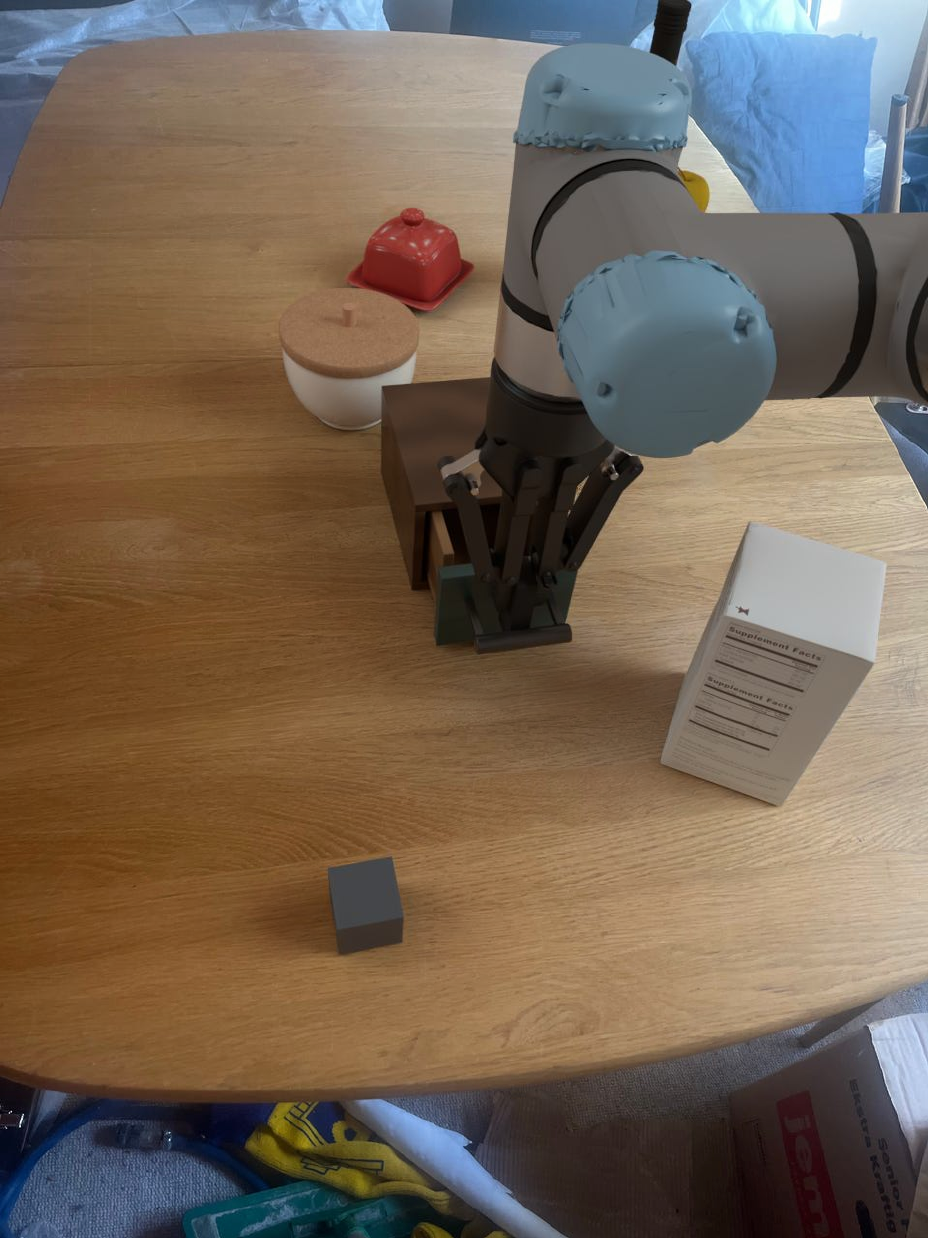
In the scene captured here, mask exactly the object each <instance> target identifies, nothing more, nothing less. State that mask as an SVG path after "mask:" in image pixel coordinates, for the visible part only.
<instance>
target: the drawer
mask: <svg viewBox="0 0 928 1238" xmlns="http://www.w3.org/2000/svg"><path fill="white" fill-rule="evenodd" d="M537 503H538V499H536V503H535V509H534V514H533V515H530V519H529V525H528V530H527V536H526V542H525V547H524V553H523V557H528V558H529V561H530V559H531V557H530V555H529V549H530V543H531V537H532V532H533V526H534V520H535V515H536V509H537ZM479 507H480V510H481V515H482V520H483V524H484V529H485V534H486V538H487V543H488V548H489V552H491V549H490V548H492V550H494V546H495V539H496V532H497V525H498V518H499V511H500V504H490V505H481V506H479ZM423 563H424V567H425V570H426V574H427V578H428V581H429V585H430V588H429V589H430V592H431V596H432V600H433V602H434V606H435V608H434V621H433V622H434V623H433V639H434V642H435V645H436V647H441V646H449V645H457V644H463V643H470V642H473V648H474V652H475V654H476V655H477V656H481V655H482V656H483V655H490V654H498V653H504V652H505V653H506V652H511V651H512V652H513V651H517V650H525V649H532V648H538V647H546V646H553V645H560V644H561V645H562V644H568V643H571V642H572V640H573V630H572V627H571V624H570V623H568V622H566V621H567V618H568V615H569V611H570V606H571V602H572V599H573V598H572V597H573V593H574V589H575V585H576V581H577V576H578V573H579V569H578V570H576V571H574V572H567V571H566V570H565V569H563V570H560V571H558V572H556V574H555V575H556V578H557V580H558V585H557V586H556V587H555V588H553V589H550V590H549V591H548V595H547V601H546V602H545V603H544V605H543V606H536V607H534V610H533V615H532V620H531V625H530V628H528V629H521V630H513V631H506V632H502V629H501V625H500V622H499V619H498V617H499V612H497V611H496V608H495V606H494V603H493V600H492V597H491V594H490V592H491V585H492V580H491V581H490V582H488V583H479V582H478V581H477V578H476V575H475V572H474V569H473V566H472V563H471V560H470V557H469V553H468V549H467V545H466V541H465V537H464V532H463V528H462V524H461V520H460V516H459V511H458V508H454V509H445V510H435V511H426V512H425V526H424V543H423Z"/></svg>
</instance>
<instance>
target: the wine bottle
mask: <svg viewBox="0 0 928 1238" xmlns="http://www.w3.org/2000/svg"><path fill="white" fill-rule="evenodd" d="M692 5H693V4H692V2H691V1H689V0H658V1H657V5H656V7H657V8H656V13H655V18H654V20H653V27H654V28H653V29H654V30H653V32H652V38H651V43H650V47H649V51H648V52H649V53H652V54H655V55H657V56H659V57H661V58H664V59H665V60H667V61H669V62H670V63H672V64H673V65H675V66H676V67H677V66H678V62H679V61H678V60H679V56H680V51H681V49H682V43H683V38H684V33H685V32H686V31H687V29H688V22H689V17H690V13H691V12H692V11H691V10H692Z"/></svg>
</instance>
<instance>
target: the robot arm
mask: <svg viewBox="0 0 928 1238" xmlns="http://www.w3.org/2000/svg"><path fill="white" fill-rule="evenodd" d="M649 52H650V51H646V50H643V49H640V48H636V47H633V46H627V45H622V44H614V43H594V42H593V43H589V42H586V43H583V42H582V43H576V44H575V43H574V44H569V45H565V46H561V47H558V48H555V49H552V50H551V51H548V52H546V53H545V54H544V55H542V56H541V57H539V59H537V60H536V62H535V63H534V64H533V65H532V66H531V68H530V69H529V71H528V74H527V75H526V79H525V82H524V83H525V84H524V91H523V95H522V102H521V107H520V113H519V118H518V123H517V129H516V130H515V132H513V138H512V143H513V144H515V149H514V161H513V169H512V170H513V171H512V178H511V179H512V180H511V189H510V198H509V209H508V215H507V216H508V218H507V227H506V237H505V238H506V239H505V246H504V254H503V266H502V277H501V283H500V290H499V291H500V292H499V298H498V299H499V300H498V308H497V315H496V317H497V318H496V325H495V333H494V344H493V355H494V356H493V358H492V361H491V364H490V365H491V366H490V374H489V375H490V376H489V377H490V383H489V392H488V401H487V409H486V422H485V426H484V428H483V430H482V431H481V433H480V434H479V435H478V437H477V439H476V441H475V450H474V451H472V452H470V453H469V454H467V455H465V456H464V457H462V458H460V459H459V460H456V459H455V458H454V457H453V456H444V457H442V458H441V459H440V460H439V461H438V463H437V466H438V469H439V472H440V476H441V479H442V482H443V485H444V488H445V491H446V494H447V495H448V496H449V498H450V499H451V500H452V501H453V502H454V503H455V504H456V505H457V507H458V511H459V516H460V520H461V524H462V528H463V532H464V537H465V541H466V545H467V549H468V553H469V557H470V560H471V563H472V566H473V569H474V572H475V575H476V578H477V581H478V582H479V583H488V582H490V581H491V580H492V585H491V592H490V594H491V597H492V600H493V603H494V606H495V608H496V611H497V612H499V617H498V619H499V622H500V625H501V629H502V632H506V631H513V630H521V629H528V628H530V625H531V620H532V615H533V610H534V607H536V606H543V605H544V603H545V602H546V601H547V595H548V591H549V590H550V589H553V588H555V587H556V586H557V585H558V580H557V578H556V575H555V574H556V572H558V571H560V570H563V569H565V570H566V571H567V572H574V571H576V570H578V571H579V569H580V568H581V567H582V566H583V564H584V562H585V560H586V558H587V557H588V555H589V553H590V551H591V550H592V547H593V545H594V544H595V542H596V540H597V538H598V537H599V535H600V533H601V531H602V530H603V528H604V526H605V524H606V522H607V521H608V519H609V517H610V515H611V514H612V512H613V510H614V508H615V506H616V504H617V502H618V501H619V499H620V497H621V496H622V494H623V492H624V491H625V490H626V489H627V488H628V487H629V486H630V485H631V484H632V483H633V482H634V481H635V480H636V479H637V478H638V477H640V476H641V474H642V473H643V472H644V469H645V467H644V464H643V462H642V461H641V458H640V457H645V458H651V459H652V458H653V459H672V458H673V459H674V458H680V457H686V456H690V455H691V454H693V452H694V450H695V449H697V448H700V447H701V446H703V445H707V444H709V443H711V442H712V443H715V444H719V443H721V442H723V441H725V440H727V439H728V438H730V437H732V436H733V435H734V434H736V433H737V432H738V431H740V430H741V429H742V428H743V427H744V426H745V425H746V424H747V423H748V422H749V421H750V420H752V418H753V417H754V416H755V415H756V414H757V412H758V411H759V410H760V408H761V407H762V405H763V404H764V402H765V401H786V400H787V401H788V400H790V401H791V400H811V399H820V400H821V399H827V398H828V399H829V398H872V397H873V398H875V397H876V398H878V397H887V398H898V399H904V400H909V401H911V402H913V403H916V404H918V405H920V406H923V407H925V408H928V211H927V212H925V211H924V212H922V211H920V212H919V211H917V212H874V213H872V212H871V213H870V212H868V213H841V212H838V211H836V212H706V211H705V212H701V210H700V209H699V207H698V206H697V204H696V203H695V201H694V199H693V198H692V196H691V194H690V193H689V191H688V189H687V187H686V186H685V184H684V183H683V181H682V179H681V178H680V176H679V174H678V167H679V162H680V159H681V154H682V152H683V149H684V148H686V147H687V143H688V141H689V140H688V139H689V138H688V135H687V133H688V126H689V125H688V124H689V117H690V111H691V105H692V99H693V97H692V88H691V85H690V82H689V80H688V78H687V77H686V75H685V74H684V72H682V70H681V69H680V68H679V67H677V66H675V65H673V64H672V63H670V62H669V61H667V60H665V59H664V58H661V57H659V56H657V55H655V54H652V53H649ZM484 470H485V471H486V472H487V473H488V474H489V475H490V476H491V477H492V478H493V480H494V481H495V482H496V483H497V484H498V485H499V486H500V487H501V489H502V496H501V503H500V511H499V518H498V525H497V532H496V539H495V546H494V550H492V548H490V549H491V552H489V548H488V543H487V538H486V534H485V529H484V524H483V520H482V515H481V510H480V507H479V504H478V501H477V498H476V495H477V494H478V493H479V487H480V486H481V479H480V476H481V473H482V472H483V471H484ZM584 481H585V482H584ZM583 482H584V484H583V486H582V487H581V490H580V491H579V493H578V495H577V491H578V487H579V486H580V485H581V484H582V483H583ZM576 496H577V498H576ZM536 498H538V503H537V509H536V515H535V520H534V526H533V532H532V537H531V543H530V549H529V555H530V557H531V559H530V561H529V558H528V557H523V553H524V547H525V542H526V536H527V530H528V525H529V519H530V515H533V514H534V509H535V503H536Z"/></svg>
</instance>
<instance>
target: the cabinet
mask: <svg viewBox="0 0 928 1238" xmlns="http://www.w3.org/2000/svg"><path fill="white" fill-rule="evenodd" d="M489 383H490V376H485V377H474V378H462V379H449V380H436V381H423V382H411V383H410V384H398V385H386V386H382V387H381V393H382V394H381V422H380V474H381V478H382V481H383V486H384V490H385V493H386V497H387V501H388V505H389V510H390V513H391V515H392V521H393V525H394V528H395V531H396V537H397V539H398V543H399V547H400V551H401V554H402V555H401V556H402V558H403V563H404V566H405V571H406V574H407V578H408V582H409V585H410V590H412V591H415V590H423V589H431V588H430V585H429V581H428V578H427V574H426V570H425V567H424V563H423V543H424V526H425V512H426V511H435V510H445V509H454V508H458V507H457V505H456V504H455V503H454V502H453V501H452V500H451V499H450V498H449V496H448V495H447V494H446V491H445V488H444V485H443V482H442V479H441V476H440V472H439V469H438V466H437V463H438V461H439V460H440V459H441V458H442V457H444V456H453V457H454V458H455V459H456V460H459V459H460V458H462V457H464V456H465V455H467V454H469V453H470V452H472V451H474V450H475V441H476V439H477V437H478V435H479V434H480V433H481V431H482V430H483V428H484V426H485V422H486V409H487V401H488V392H489ZM480 479H481V486H480V487H479V493H478V494H477V495H476V498H477V501H478V504H479V506H481V505H490V504H500V503H501V496H502V489H501V487H500V486H499V485H498V484H497V483H496V482H495V481H494V480H493V478H492V477H491V476H490V475H489V474H488V473H487V472H486V471H485V470H484V471H483V472H482V473H481V476H480ZM536 499H538V498H536Z"/></svg>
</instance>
